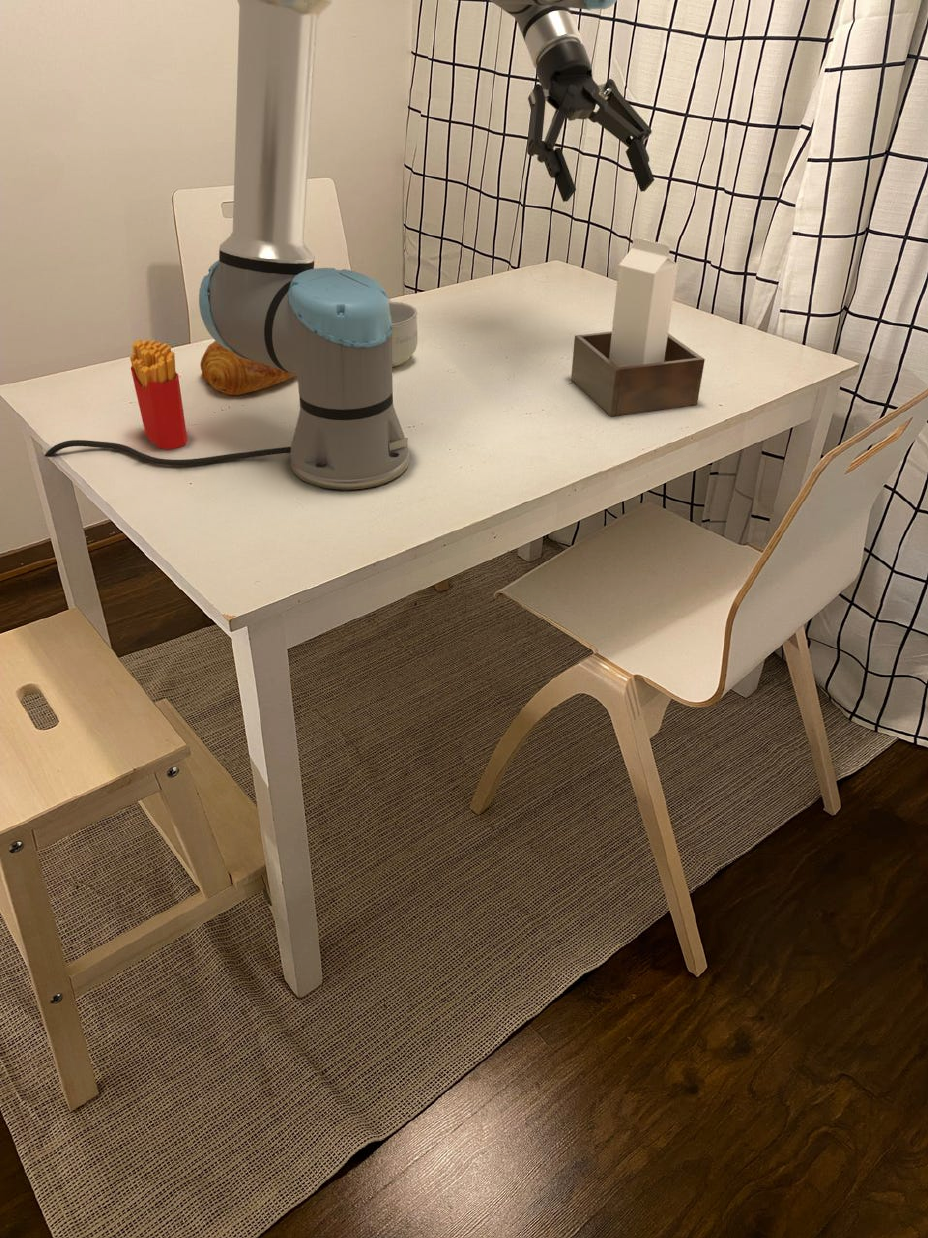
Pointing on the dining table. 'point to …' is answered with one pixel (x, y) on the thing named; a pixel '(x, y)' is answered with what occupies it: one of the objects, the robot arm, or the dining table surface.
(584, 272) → the dining table surface
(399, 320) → the teacup
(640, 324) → the milk
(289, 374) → the croissant
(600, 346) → the caddy
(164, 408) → the french fries
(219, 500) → the dining table surface
